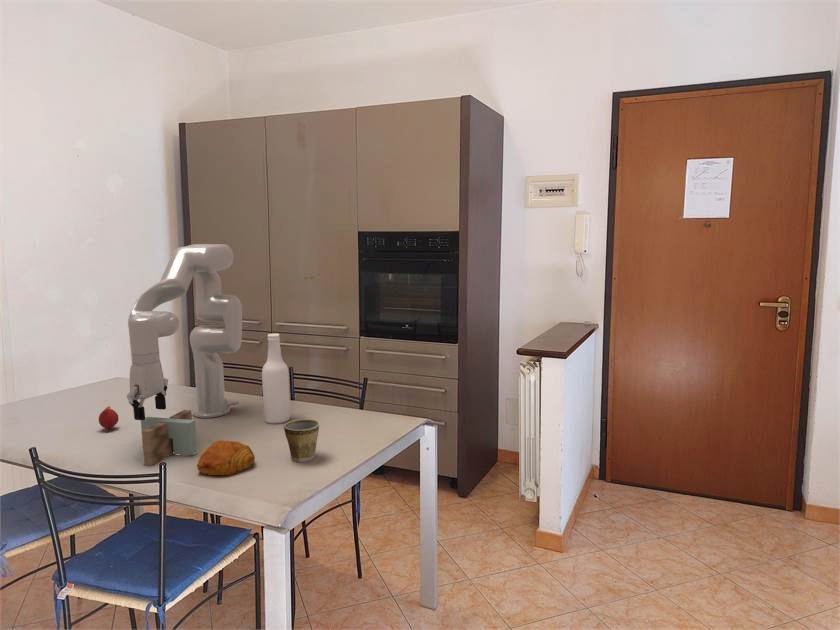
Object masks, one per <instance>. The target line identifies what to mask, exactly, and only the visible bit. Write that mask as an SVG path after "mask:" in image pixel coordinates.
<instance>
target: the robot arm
mask: <svg viewBox="0 0 840 630" xmlns="http://www.w3.org/2000/svg"><path fill="white" fill-rule="evenodd" d="M234 259H235V258H234V251H233V249H232V248H231V247H230V245H228V244H224V243H222V244H221V243H217V244H216V243H215V244H214V243H194V244H189V245H187V246H180V247H176V248H175V250H173V252H172V254H171V257H170V259H169V260H168V263H167V265H166V267H165V270H164V272H163V273H162V277H161V279H160V280H159V281H158V282H156V283H155V284H153V285H152V286H151V287H149V288H148V289H147V290H146V291H144V292H143V293H142V294H140V296H139V297H138V298H137V299H136V301H135V302H134V304H133V307H132V308H131V311H130V313H129V316H128V319H127V327H128V335H129V336H128V337H129V345H130V355H131V356H130V357H131V365H130V370H129V392H128V394H127V395H126V398H127V400H128V403H129V404H130V406H131V407H132V408H133V418H134V420H135V421H141V420H145V418H146V413H145V410H146V409H145V407H144V404H145V403H144V402H145V400H147V399H149V398H151V397H153V396H154V403H155V404H154V405H155V409H156V410H164V411H165V410H166V409H167V403H166V396H167V390H168V383H169V378H166V377H164V373H163V372H164V371H163V367H162V362H161V360H160V359H161V358H160V348H159V338H164V337H170V336H172V335H174V334H175V333H176V332H177V331H178V329H179V327H180V321H179V317H178V316H177V315H176V314H175V313H173V312H171V311H160V310H159V311H157V310H155V309H156V308H158V307H159V306H161V305H163V304H165V303H168V302H170V301H173V300H176V299H178V298H180V297H183V296H184V295H185V294H186V293H187V292H188V290H189V287H190V286H191V282H192V280H193V277H194V281H195V305H194V306H195V307H194V308H195V309H194V310H195V316H196V318H197V320H199V321H202V322H208V323H210V322H211V323H212V322H213V323H217V322H218V323H224V325H211V324H210V325H207V324H206V325H198V326H196V327H194V328H193V329H192V330H191V332H190V334H189V343H190V347H191V351H192V355H193V356H192V357H193V361H194V376H195V377H194V378H195V393H196V394H195V395H196V408H195V409H194V410H193V411H192V416H194V417H196V418H200V419H201V418H203V419H204V418H205V419H207V418H209V419H211V418H217V417H221V416H225V415H227V414H229V413H230V412H231V406H236V405H239V404H240V401H239V399H238V398H237V399H233V398H231V399H230V398H229V399H227V398H226V394H225V377H224V363H223V360H222V359H221V357H220V355H219V354H233V353H237V352H238V351H239V350H240V348H241V346H242V342H243V341H242V337H243V304H242V302H241V300H240V299H239V297H238V296H236V295H233V294H222V279H221V277H220V275H219V273H217V272H220V271H224V270H227V269H229V268H230V267H232V265H233V262H234ZM218 353H219V354H218ZM138 400H139V401H138Z"/></svg>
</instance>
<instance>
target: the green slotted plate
mask: <svg viewBox="0 0 840 630" xmlns="http://www.w3.org/2000/svg"><path fill="white" fill-rule="evenodd" d="M157 423H166V426H167V438H172V439H173V450H174V453H173V455H174V454H180V455H179V456H181V455H193V454H194V453H196V452H197V453H198V446H197V445H198V444H197V443H198V442H197V431H196V429H197V428H196V427H197V426H196V420H195V419H192V420H187V419H173V418H169V417H156V416H155V417H154V416H145V420H140V427H141V432H142V431H143V430H145V429H147V428H149V427H151V426H153V425H155V424H157ZM141 442H142V443H143V441H141ZM197 453H196V454H197ZM194 455H195V454H194ZM194 455H193V456H194Z"/></svg>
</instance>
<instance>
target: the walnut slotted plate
mask: <svg viewBox="0 0 840 630" xmlns="http://www.w3.org/2000/svg"><path fill="white" fill-rule="evenodd" d="M168 418H173V419H187V420H193V411H192V410H191V409H190V410H189V409H183V410H181V411H179V412H177V413H175V414H173V415H171V416H169V417H168ZM141 439H142V441H143V442H142V441H141V442H142V452H143V464H144V466H148V467H149V466H151V467H152V466H154V465H156V464H158V463H160V462H161V461H163V460H164V459H166V458H168V457H169V456H168V455H170V454H171V455H173V454H174V453H173V452H174V450H173V439H172V438H167V426H166V423H157V424H155V425H153V426H151V427H149V428H147V429H145V430H143V431H142V430H141ZM172 453H173V454H172ZM171 455H170V456H171ZM167 456H168V457H167ZM165 457H166V458H165ZM163 458H164V459H163ZM162 459H163V460H162ZM157 462H158V463H157Z"/></svg>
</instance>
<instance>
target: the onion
mask: <svg viewBox="0 0 840 630" xmlns="http://www.w3.org/2000/svg"><path fill="white" fill-rule="evenodd" d="M118 422H119V415H118V412H116V410H114V409H112V408H111V406H110V405H107V406H106V407H105V409H103V410H102V411H101V412H100V414H99V416H98V423H99V425H100V427H102V428H104V429H106V430H108V431H110V429H111V430H112V429H113V427H116V425H117V424H118Z"/></svg>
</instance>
